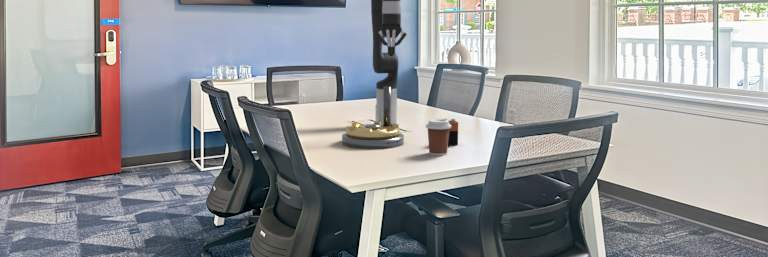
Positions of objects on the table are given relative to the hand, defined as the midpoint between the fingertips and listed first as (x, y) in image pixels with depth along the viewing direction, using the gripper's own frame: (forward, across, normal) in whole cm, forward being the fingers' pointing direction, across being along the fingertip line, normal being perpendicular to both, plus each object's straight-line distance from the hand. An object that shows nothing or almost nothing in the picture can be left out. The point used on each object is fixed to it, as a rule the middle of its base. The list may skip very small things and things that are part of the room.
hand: (391, 56), depth 261 cm
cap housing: (+33, +5, +17) cm, 38 cm away
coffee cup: (+33, -21, +34) cm, 52 cm away
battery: (+33, -24, +16) cm, 44 cm away
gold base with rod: (+30, +5, +17) cm, 35 cm away
